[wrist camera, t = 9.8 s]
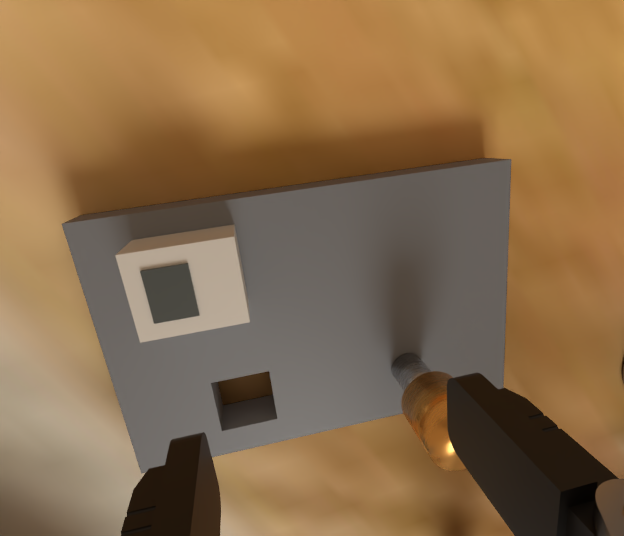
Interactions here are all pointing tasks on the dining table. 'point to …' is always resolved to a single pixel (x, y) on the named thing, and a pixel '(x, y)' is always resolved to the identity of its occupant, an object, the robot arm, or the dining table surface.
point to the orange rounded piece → (426, 408)
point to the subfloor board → (311, 302)
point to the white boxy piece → (184, 282)
